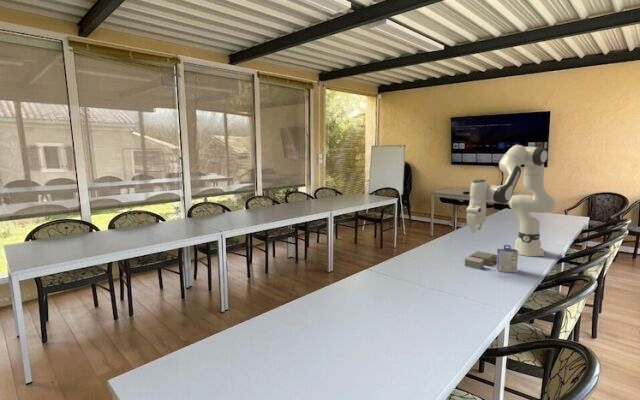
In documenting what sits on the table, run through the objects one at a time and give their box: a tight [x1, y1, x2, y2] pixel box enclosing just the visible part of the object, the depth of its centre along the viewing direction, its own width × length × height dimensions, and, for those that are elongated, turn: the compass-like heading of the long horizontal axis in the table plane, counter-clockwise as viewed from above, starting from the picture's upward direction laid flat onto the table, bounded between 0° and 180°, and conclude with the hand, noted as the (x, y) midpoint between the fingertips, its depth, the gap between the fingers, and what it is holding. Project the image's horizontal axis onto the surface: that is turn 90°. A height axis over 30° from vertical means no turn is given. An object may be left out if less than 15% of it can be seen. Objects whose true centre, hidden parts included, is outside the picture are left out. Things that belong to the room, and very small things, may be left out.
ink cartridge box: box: [496, 244, 519, 273], centre depth 198 cm, size 10×6×14 cm, turn 78°
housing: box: [464, 255, 485, 270], centre depth 205 cm, size 5×9×5 cm, turn 43°
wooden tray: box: [469, 250, 497, 267], centre depth 215 cm, size 14×12×4 cm
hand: (476, 231), depth 202 cm, fingers open, 8 cm apart
